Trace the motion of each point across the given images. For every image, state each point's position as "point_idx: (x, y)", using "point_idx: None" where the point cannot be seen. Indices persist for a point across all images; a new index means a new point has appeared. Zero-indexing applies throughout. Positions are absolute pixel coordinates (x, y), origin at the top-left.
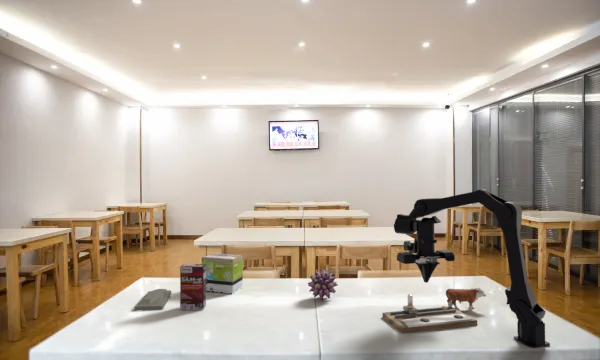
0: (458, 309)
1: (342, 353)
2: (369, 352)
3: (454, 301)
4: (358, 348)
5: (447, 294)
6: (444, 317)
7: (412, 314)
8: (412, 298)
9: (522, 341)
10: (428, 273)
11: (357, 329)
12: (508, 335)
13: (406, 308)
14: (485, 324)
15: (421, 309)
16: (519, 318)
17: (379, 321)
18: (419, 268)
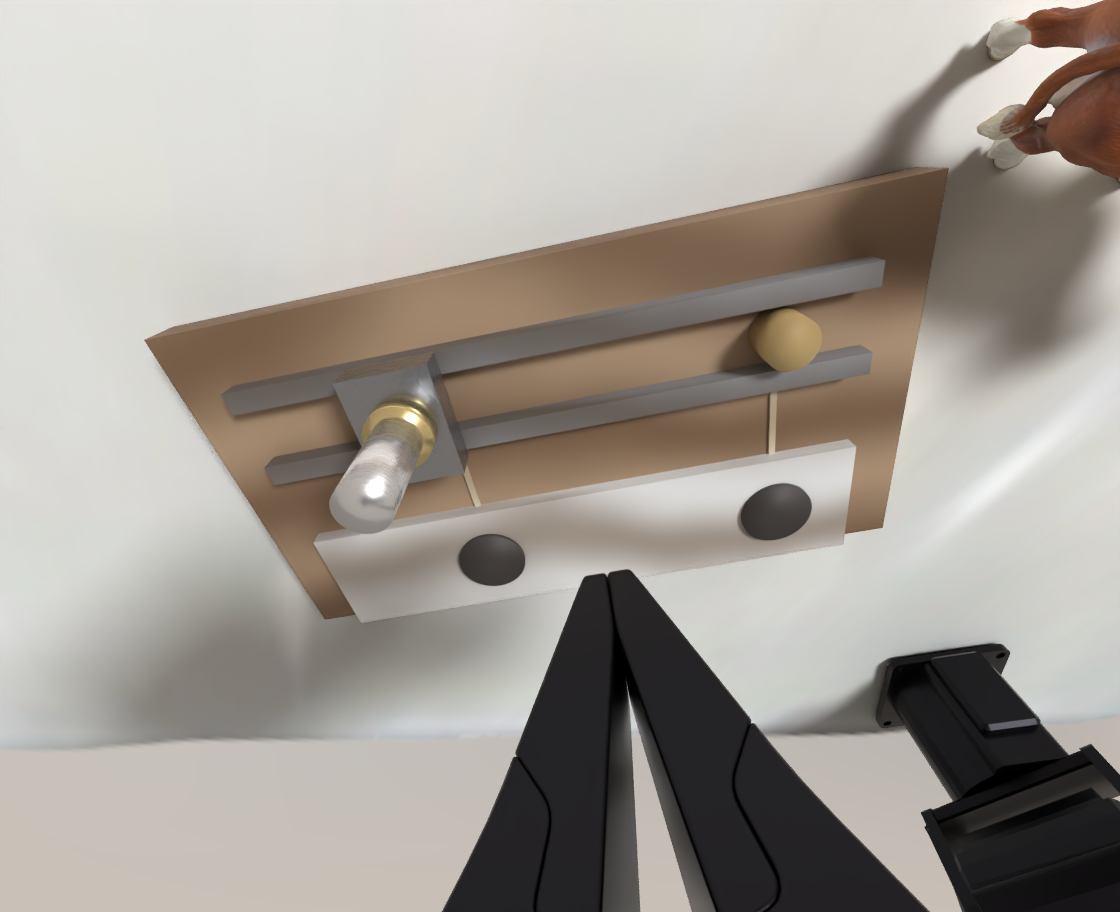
0: (1010, 165)
1: (58, 745)
2: (176, 740)
3: (1055, 148)
4: (116, 716)
5: (1104, 44)
6: (663, 517)
7: None
8: (401, 498)
9: (885, 701)
10: (669, 827)
11: (31, 545)
12: (904, 627)
13: (362, 444)
14: (924, 500)
15: (543, 343)
16: (933, 842)
17: (161, 420)
18: (464, 909)
